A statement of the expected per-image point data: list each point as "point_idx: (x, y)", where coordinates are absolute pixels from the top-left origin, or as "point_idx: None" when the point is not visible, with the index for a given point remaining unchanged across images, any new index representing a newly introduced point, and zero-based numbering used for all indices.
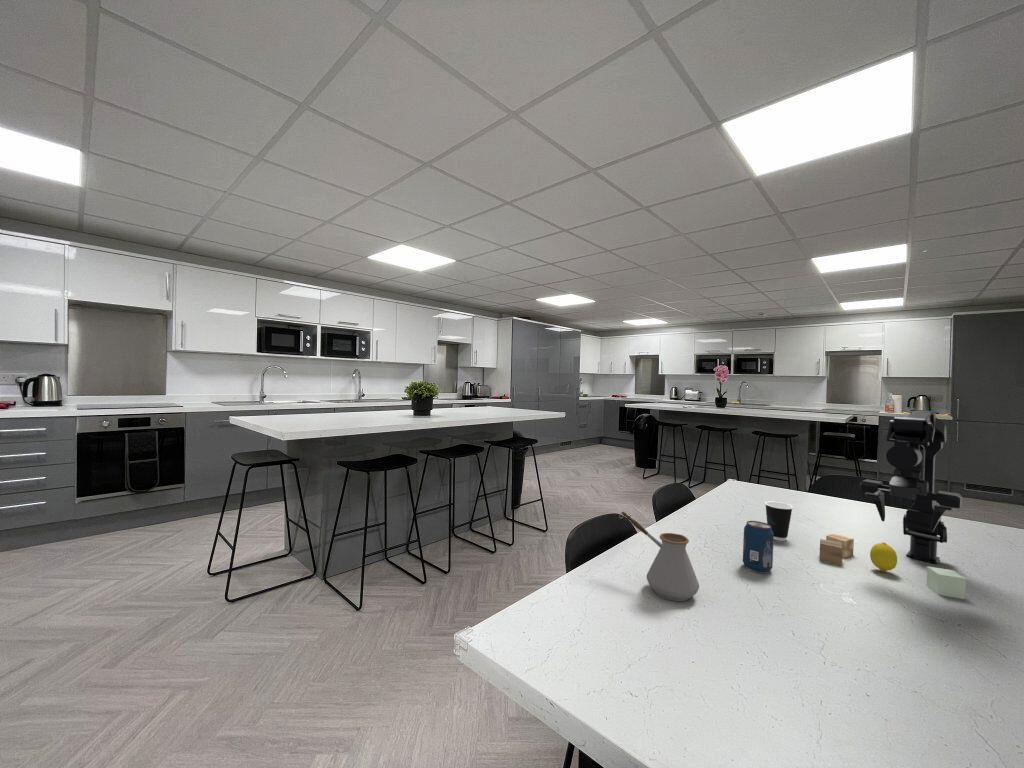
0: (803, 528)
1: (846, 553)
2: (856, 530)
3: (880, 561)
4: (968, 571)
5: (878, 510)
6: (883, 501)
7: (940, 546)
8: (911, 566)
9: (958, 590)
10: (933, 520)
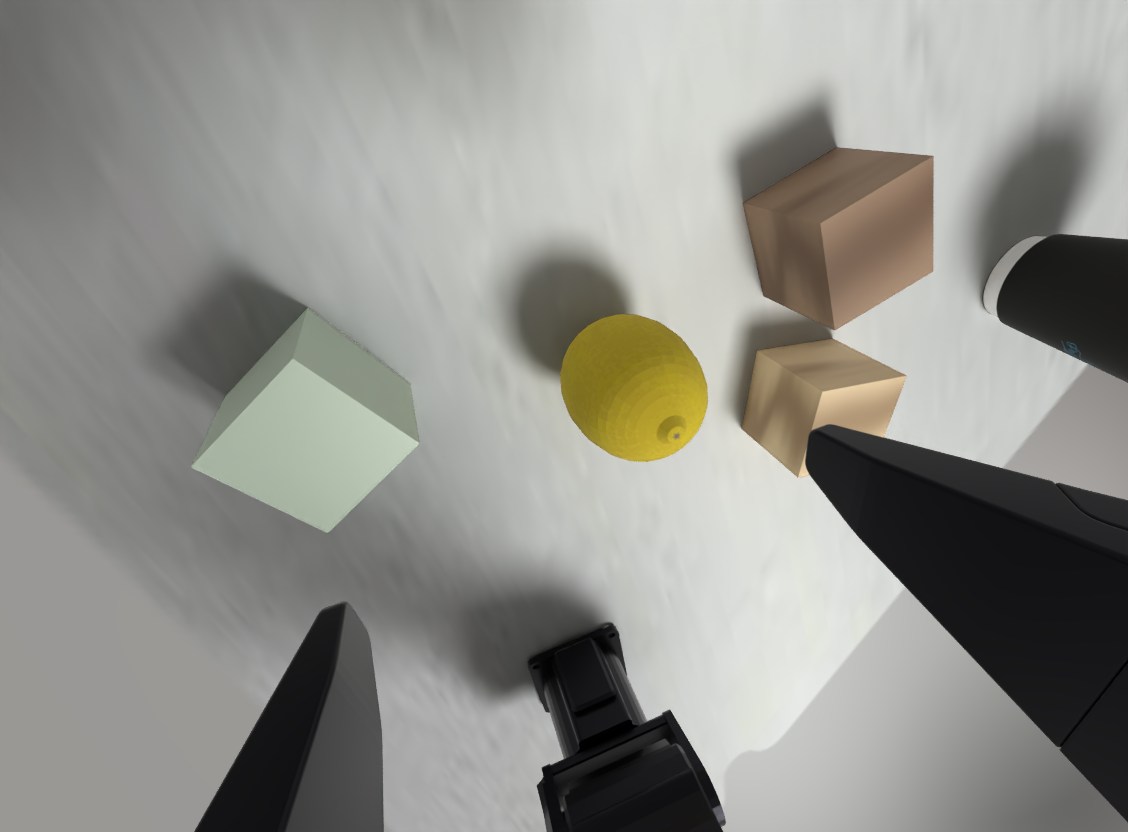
0: None
1: (768, 373)
2: (788, 671)
3: (620, 320)
4: (442, 704)
5: (1003, 469)
6: (1084, 706)
7: None
8: (561, 551)
9: (236, 396)
10: (269, 793)
